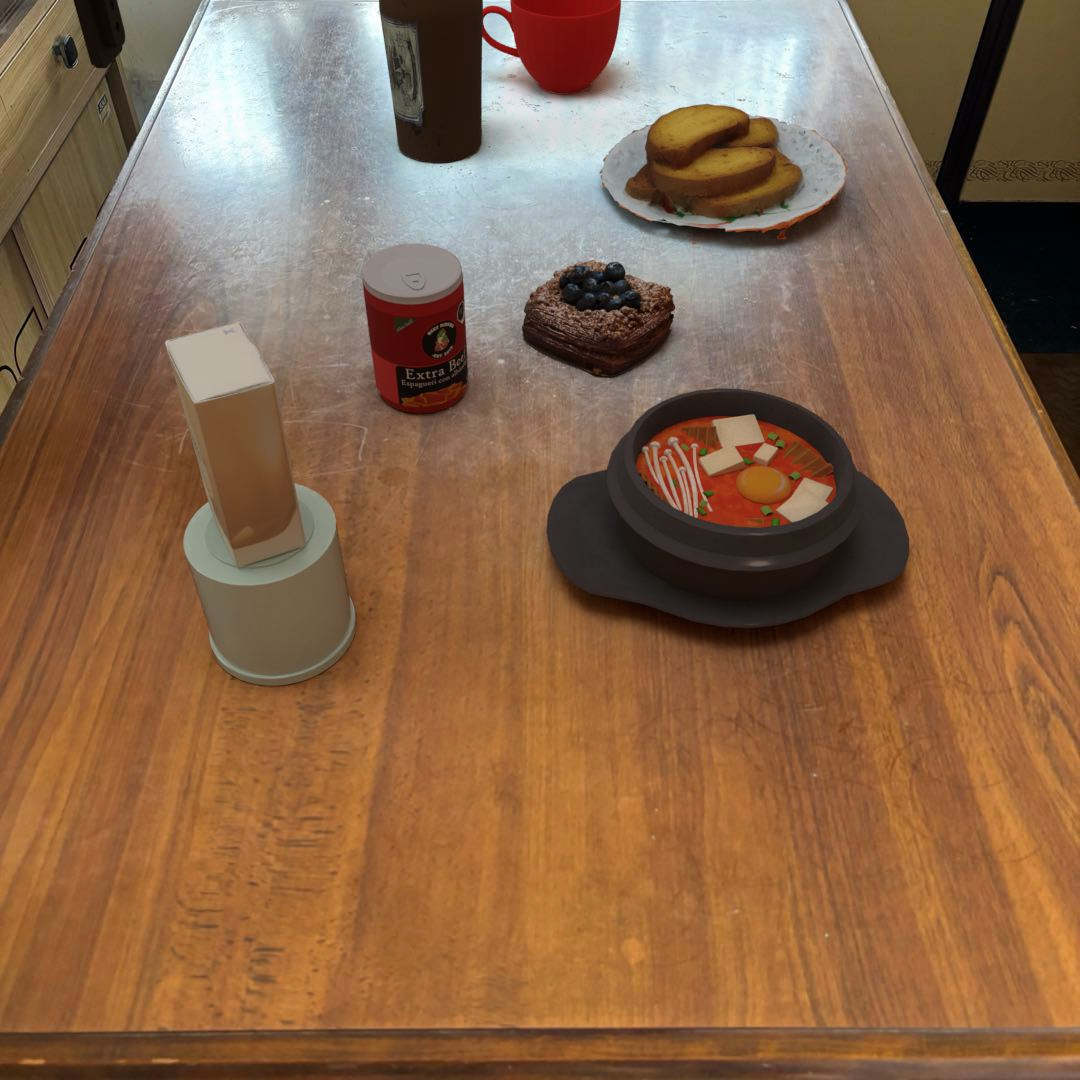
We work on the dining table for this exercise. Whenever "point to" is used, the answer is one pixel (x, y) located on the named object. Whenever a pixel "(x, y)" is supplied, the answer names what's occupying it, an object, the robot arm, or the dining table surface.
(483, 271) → the dining table surface
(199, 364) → the cosmetic box
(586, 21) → the ceramic cup
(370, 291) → the canned food
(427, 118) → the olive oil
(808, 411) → the casserole
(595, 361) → the pastry
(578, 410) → the dining table surface
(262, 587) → the upturned cup
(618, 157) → the food on plate
